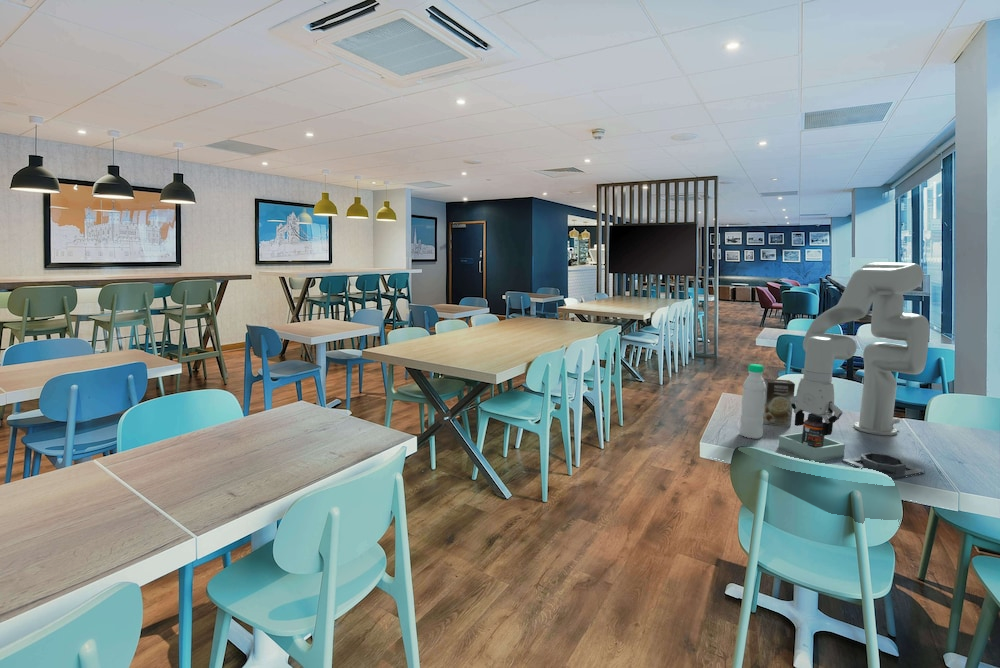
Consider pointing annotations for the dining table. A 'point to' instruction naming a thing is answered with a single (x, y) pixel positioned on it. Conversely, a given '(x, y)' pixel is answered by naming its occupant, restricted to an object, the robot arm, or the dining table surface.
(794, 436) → the bin
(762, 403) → the water bottle
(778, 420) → the coffee box
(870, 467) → the square bottle holder
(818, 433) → the supplement bottle
